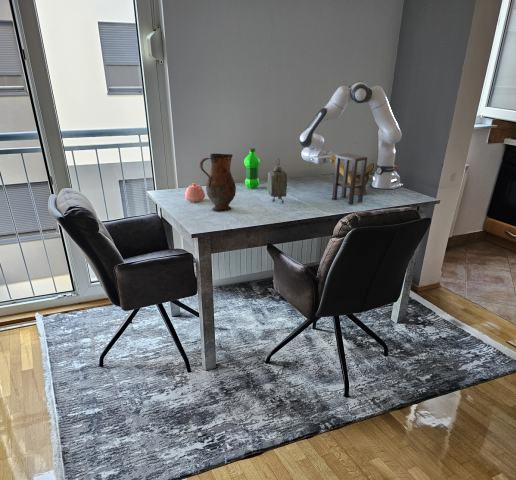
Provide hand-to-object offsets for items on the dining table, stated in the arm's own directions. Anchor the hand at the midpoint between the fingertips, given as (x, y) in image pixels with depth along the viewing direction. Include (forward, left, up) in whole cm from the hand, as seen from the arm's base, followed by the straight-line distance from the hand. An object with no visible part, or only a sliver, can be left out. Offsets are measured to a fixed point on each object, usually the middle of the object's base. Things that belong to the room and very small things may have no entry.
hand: (334, 160), depth 302 cm
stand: (+10, +23, -19) cm, 32 cm away
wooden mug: (-12, +15, -19) cm, 27 cm away
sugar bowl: (+86, -32, -19) cm, 94 cm away
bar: (0, +6, -6) cm, 8 cm away
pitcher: (+86, -6, -19) cm, 88 cm away
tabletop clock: (+47, -1, -19) cm, 51 cm away
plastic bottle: (+38, -39, -19) cm, 58 cm away
